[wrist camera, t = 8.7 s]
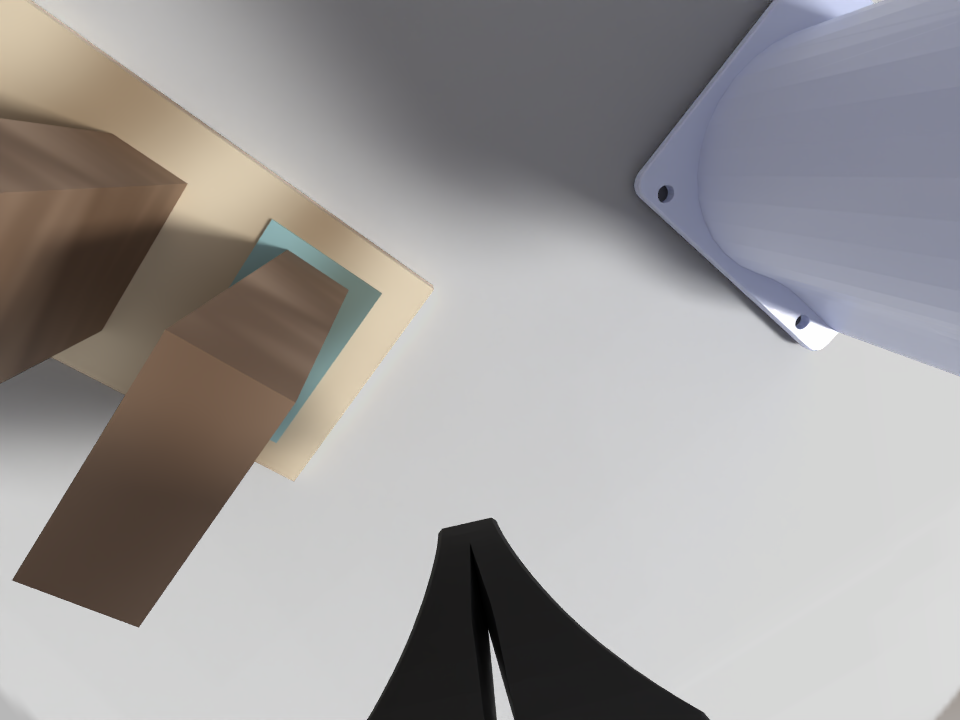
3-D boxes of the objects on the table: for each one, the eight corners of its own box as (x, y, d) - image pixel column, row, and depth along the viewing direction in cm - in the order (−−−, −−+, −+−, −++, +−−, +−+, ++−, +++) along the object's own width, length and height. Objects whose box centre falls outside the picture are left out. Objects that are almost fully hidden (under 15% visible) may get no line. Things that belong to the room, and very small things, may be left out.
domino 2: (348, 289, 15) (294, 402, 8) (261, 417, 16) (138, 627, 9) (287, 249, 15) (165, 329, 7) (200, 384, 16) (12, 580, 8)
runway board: (432, 285, 16) (434, 290, 16) (297, 471, 18) (293, 483, 17) (-409, -312, 10) (-466, -346, 9) (-505, 55, 11) (-559, 49, 11)
